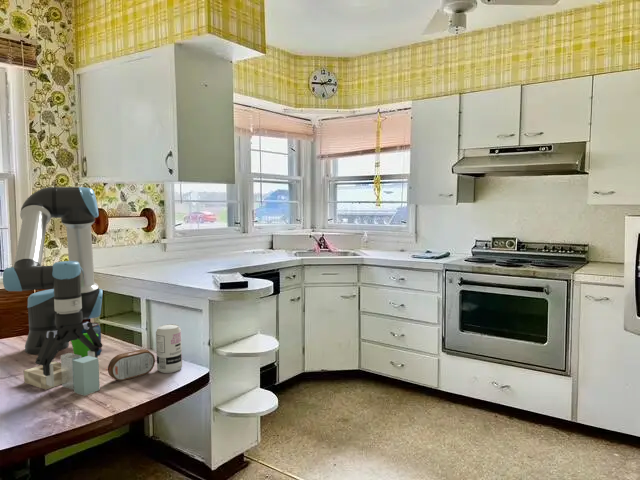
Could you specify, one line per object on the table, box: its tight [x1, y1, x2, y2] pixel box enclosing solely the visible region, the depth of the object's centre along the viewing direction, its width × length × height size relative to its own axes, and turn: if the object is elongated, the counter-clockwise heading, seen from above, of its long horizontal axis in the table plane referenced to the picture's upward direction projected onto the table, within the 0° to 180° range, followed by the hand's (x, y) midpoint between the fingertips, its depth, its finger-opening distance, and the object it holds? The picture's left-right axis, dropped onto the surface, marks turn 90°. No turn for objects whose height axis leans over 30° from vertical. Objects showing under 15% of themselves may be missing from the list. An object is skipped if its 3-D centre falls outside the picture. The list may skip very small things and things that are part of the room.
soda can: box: [81, 322, 103, 357], centre depth 175 cm, size 7×7×12 cm
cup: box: [70, 333, 99, 358], centre depth 163 cm, size 9×9×11 cm
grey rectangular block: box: [60, 352, 81, 391], centre depth 145 cm, size 3×6×10 cm, turn 60°
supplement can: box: [155, 323, 183, 374], centre depth 159 cm, size 8×8×15 cm
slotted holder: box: [23, 360, 62, 390], centre depth 150 cm, size 10×12×4 cm
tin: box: [107, 348, 156, 382], centre depth 153 cm, size 15×3×8 cm, turn 136°
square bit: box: [73, 356, 101, 396], centre depth 141 cm, size 5×5×10 cm
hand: (72, 377), depth 145 cm, fingers open, 13 cm apart
